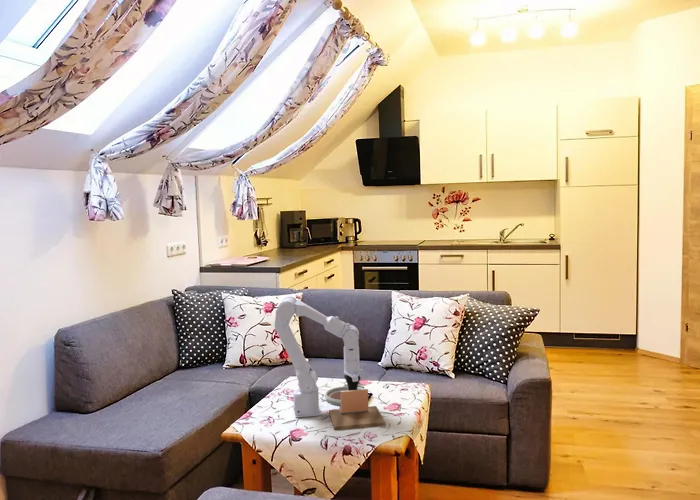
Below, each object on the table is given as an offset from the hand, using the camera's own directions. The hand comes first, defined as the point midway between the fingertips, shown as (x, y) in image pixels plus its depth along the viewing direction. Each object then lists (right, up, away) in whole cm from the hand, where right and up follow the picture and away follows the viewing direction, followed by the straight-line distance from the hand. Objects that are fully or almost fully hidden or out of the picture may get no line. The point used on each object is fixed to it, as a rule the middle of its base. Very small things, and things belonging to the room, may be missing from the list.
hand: (352, 394), depth 227 cm
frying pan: (-1, -5, +21) cm, 22 cm away
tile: (+1, -2, -3) cm, 4 cm away
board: (+1, -8, -6) cm, 10 cm away
